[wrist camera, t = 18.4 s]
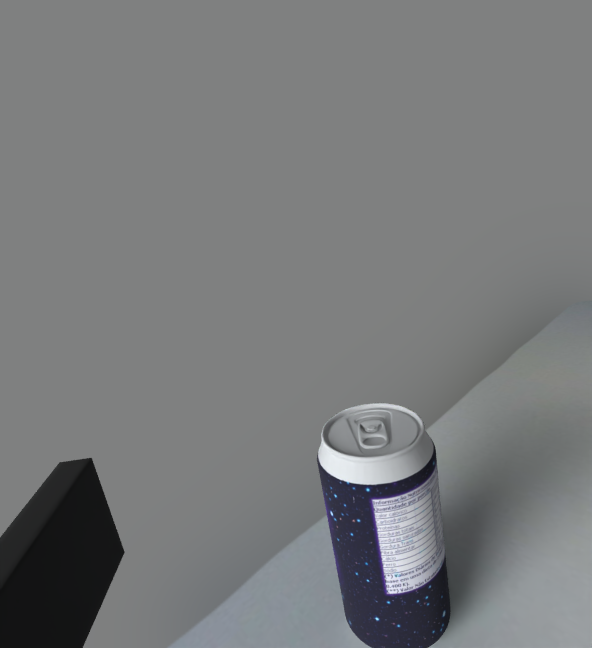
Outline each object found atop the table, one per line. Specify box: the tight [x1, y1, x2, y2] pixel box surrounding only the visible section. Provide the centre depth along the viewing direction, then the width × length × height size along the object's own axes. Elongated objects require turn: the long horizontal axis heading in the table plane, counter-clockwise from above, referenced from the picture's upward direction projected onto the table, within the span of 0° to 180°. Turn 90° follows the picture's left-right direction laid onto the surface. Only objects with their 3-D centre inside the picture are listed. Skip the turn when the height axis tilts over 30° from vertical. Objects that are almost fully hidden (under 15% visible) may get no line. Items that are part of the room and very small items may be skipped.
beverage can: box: [317, 403, 450, 648], centre depth 25 cm, size 6×6×12 cm
